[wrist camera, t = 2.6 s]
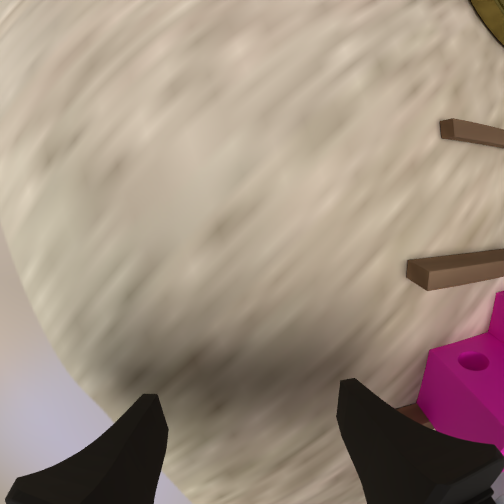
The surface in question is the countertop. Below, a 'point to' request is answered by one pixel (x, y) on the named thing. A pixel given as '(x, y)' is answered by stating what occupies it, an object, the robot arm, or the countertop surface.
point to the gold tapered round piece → (492, 15)
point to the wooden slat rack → (462, 265)
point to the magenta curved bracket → (468, 385)
